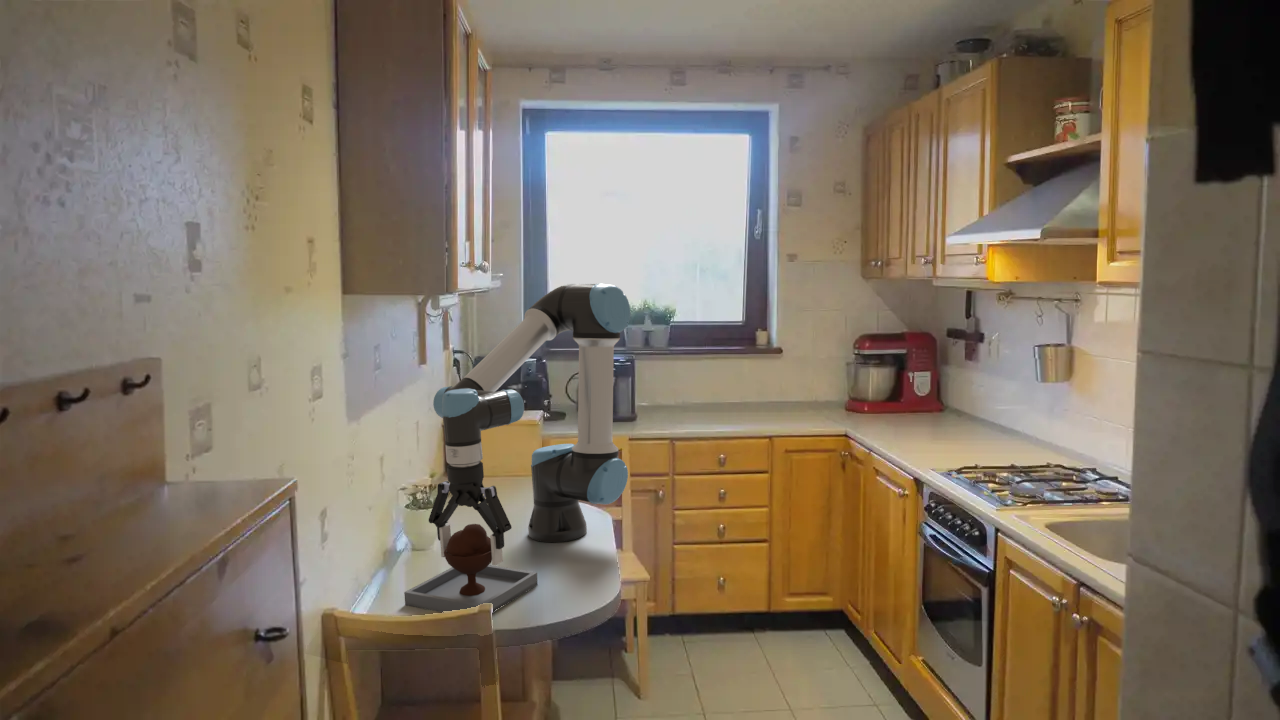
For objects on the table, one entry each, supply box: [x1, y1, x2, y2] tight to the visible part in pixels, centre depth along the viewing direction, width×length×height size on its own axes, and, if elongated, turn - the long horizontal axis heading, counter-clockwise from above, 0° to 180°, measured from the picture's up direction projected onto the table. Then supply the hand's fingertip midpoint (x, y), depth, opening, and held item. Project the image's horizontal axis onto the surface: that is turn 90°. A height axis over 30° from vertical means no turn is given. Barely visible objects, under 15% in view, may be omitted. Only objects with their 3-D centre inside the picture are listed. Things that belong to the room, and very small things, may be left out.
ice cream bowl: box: [444, 523, 492, 596], centre depth 187 cm, size 11×11×15 cm
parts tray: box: [404, 564, 538, 613], centre depth 188 cm, size 20×20×3 cm
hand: (471, 559), depth 187 cm, fingers open, 13 cm apart
